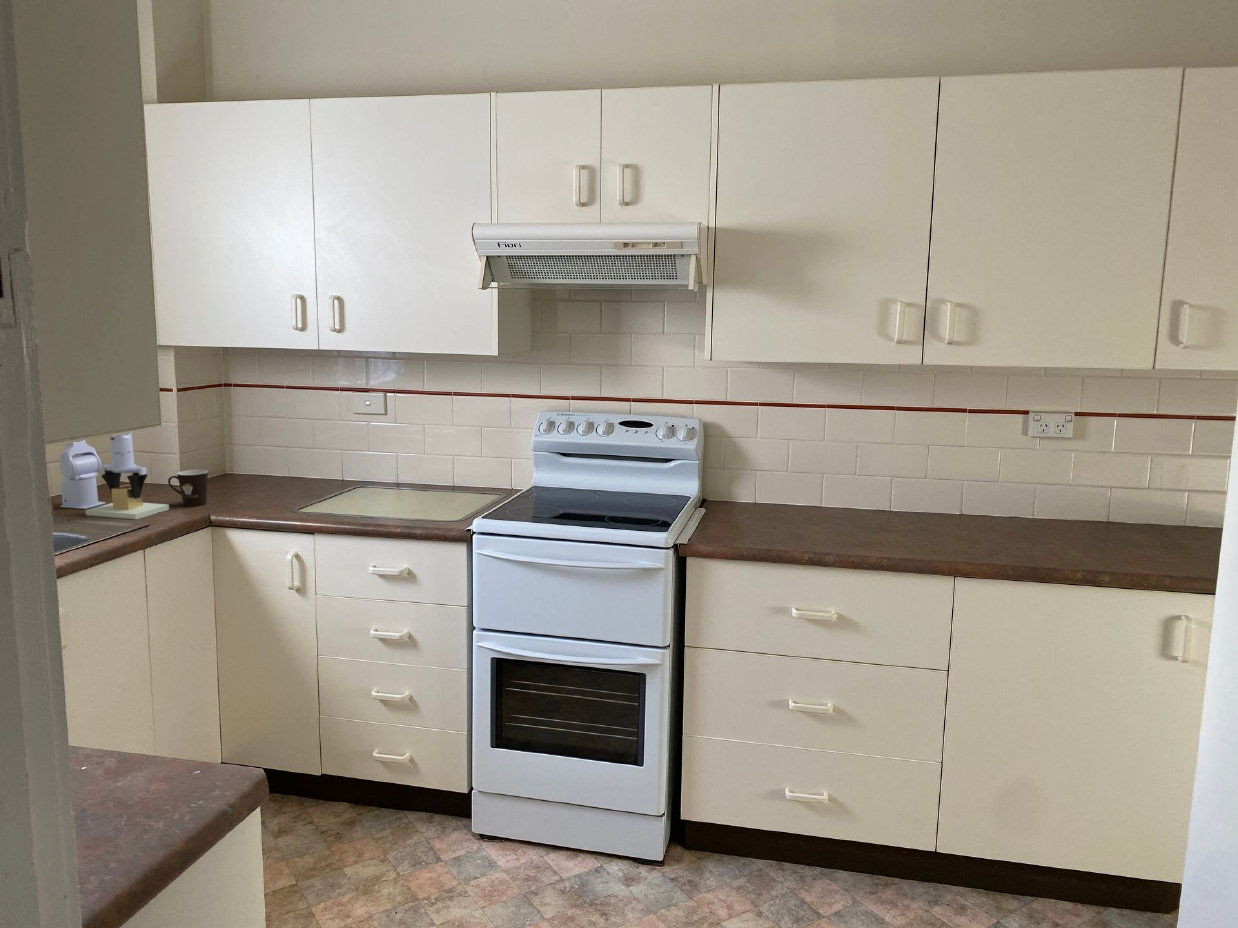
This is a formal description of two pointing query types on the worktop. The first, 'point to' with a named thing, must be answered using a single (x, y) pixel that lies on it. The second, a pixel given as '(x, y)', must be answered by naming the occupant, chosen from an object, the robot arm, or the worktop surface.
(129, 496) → the brass collar
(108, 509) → the post stand
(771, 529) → the worktop surface
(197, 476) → the coffee mug
